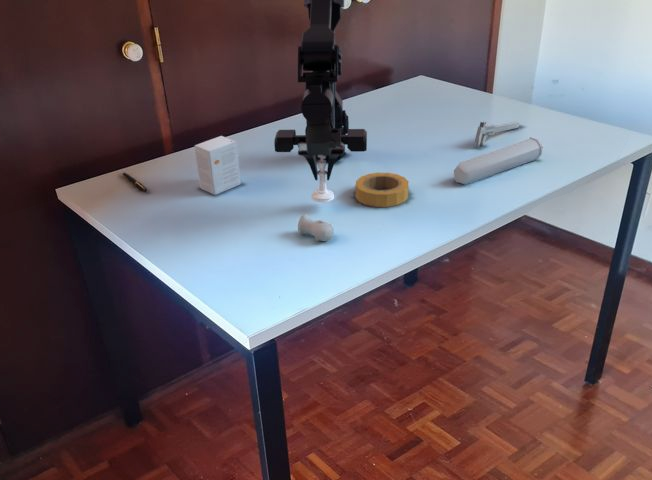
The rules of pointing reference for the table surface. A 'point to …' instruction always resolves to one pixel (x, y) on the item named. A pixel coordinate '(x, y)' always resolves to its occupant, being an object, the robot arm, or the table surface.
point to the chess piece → (322, 184)
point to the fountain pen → (135, 182)
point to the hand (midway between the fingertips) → (322, 179)
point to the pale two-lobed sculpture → (315, 228)
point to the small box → (218, 165)
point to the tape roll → (382, 198)
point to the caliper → (491, 131)
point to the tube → (498, 161)
